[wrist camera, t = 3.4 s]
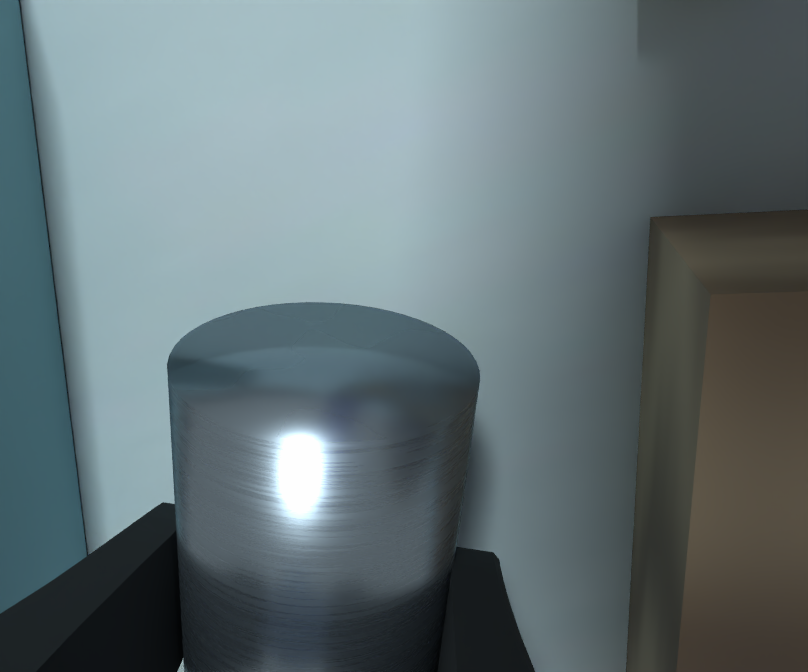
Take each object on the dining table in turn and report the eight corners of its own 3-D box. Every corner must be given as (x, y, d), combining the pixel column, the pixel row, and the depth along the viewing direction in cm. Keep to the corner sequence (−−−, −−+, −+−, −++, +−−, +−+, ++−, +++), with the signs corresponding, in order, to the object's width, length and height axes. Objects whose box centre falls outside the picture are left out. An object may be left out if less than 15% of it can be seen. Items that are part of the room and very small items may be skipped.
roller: (433, 692, 14) (406, 920, 11) (238, 658, 15) (148, 866, 11) (485, 321, 11) (472, 465, 7) (234, 289, 11) (104, 410, 8)
